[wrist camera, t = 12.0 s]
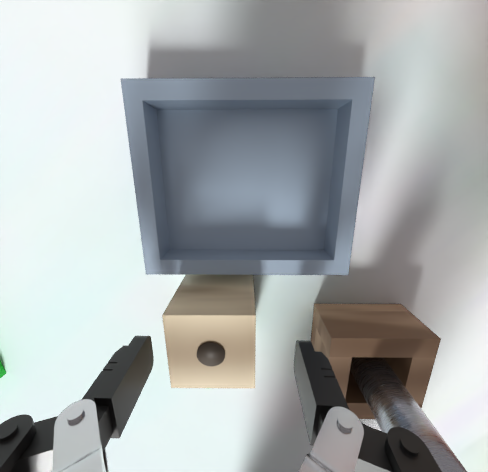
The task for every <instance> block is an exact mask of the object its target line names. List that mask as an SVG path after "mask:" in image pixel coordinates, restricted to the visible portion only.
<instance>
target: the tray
mask: <svg viewBox="0 0 488 472" xmlns="http://www.w3.org/2000/svg"><path fill="white" fill-rule="evenodd" d="M374 80H375V77H311V78H149V79H121V85H122V93H123V101H124V108H125V116H126V124H127V131H128V139H129V147H130V154H131V162H132V170H133V178H134V185H135V193H136V201H137V208H138V216H139V224H140V231H141V239H142V247H143V254H144V262H145V270H146V274H213V275H348V273H349V265H350V258H351V250H352V243H353V236H354V228H355V221H356V213H357V206H358V198H359V191H360V184H361V176H362V169H363V161H364V154H365V147H366V139H367V132H368V124H369V117H370V109H371V102H372V95H373V87H374Z"/></svg>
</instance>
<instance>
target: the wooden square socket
mask: <svg viewBox="0 0 488 472" xmlns="http://www.w3.org/2000/svg"><path fill="white" fill-rule="evenodd" d="M440 340H441V339H440V338H439V337H438V336H437V335H436V334H435V333H433V332H432V331H431V330H430V329H429V328H428V327H427V326H425V325H424V324H423V323H422V322H421V321H420V320H419V319H417V318H416V317H415V316H414V315H413V314H412V313H411V312H409V311H408V310H407V309H406V308H405V307H404V306H403V305H401V304H314V311H313V322H312V333H311V342H312V345H313V348H314V351H317V352H322V353H323V354H324V355H325V356H326V357H327V358H328V359H329V362H330V364H331V366H332V370H333V371H334V374H335V376H336V378H337V381H338V383H339V386H340V388H341V391H342V393H343V395H344V398H345V400H346V403H347V405H348V407H349V409H350V411H352V412H353V413H354V414H355V415H356V416H357V417H358V418H359V419H375V417H374V415H373V413H372V411H371V410H370V408H369V406H368V404H367V402H366V400H365V398H364V396H363V394H362V392H361V390H360V388H359V386H358V384H357V382H356V381H355V379H354V377H353V375H352V373H351V371H350V366H351V360H352V357H382V358H384V359H385V360H386V361H387V363H388V364H389V366H390V367H391V368H392V370H393V371H394V372H395V374H396V375H397V377H398V378H399V379H400V381H401V382H402V383H403V385H404V386H405V387H406V389H407V390H408V392H409V393H410V394H411V396H412V397H413V398H414V400H415V401H416V403H417V404H418V405H419V407H420V408H422V404H423V401H424V397H425V394H426V390H427V386H428V383H429V379H430V376H431V372H432V369H433V365H434V361H435V358H436V354H437V351H438V347H439V343H440Z"/></svg>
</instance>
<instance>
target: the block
mask: <svg viewBox="0 0 488 472" xmlns="http://www.w3.org/2000/svg"><path fill="white" fill-rule="evenodd" d="M162 316H163V324H164V333H165V341H166V349H167V357H168V366H169V374H170V382H171V388H255V325H256V314H255V297H254V280H253V275H213V274H186V275H185V277H184V279H183V281H182V282H181V284H180V286H179V288H178V289H177V291H176V293H175V294H174V296H173V298H172V300H171V301H170V303H169V305H168V307H167V308H166V310H165V312H164V313H163V315H162Z"/></svg>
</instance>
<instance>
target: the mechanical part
mask: <svg viewBox="0 0 488 472" xmlns="http://www.w3.org/2000/svg"><path fill="white" fill-rule="evenodd" d="M5 374H6V372H5V369H4V367H3V365H2V363H1V361H0V378H1V377H2V376H3V375H5Z"/></svg>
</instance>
